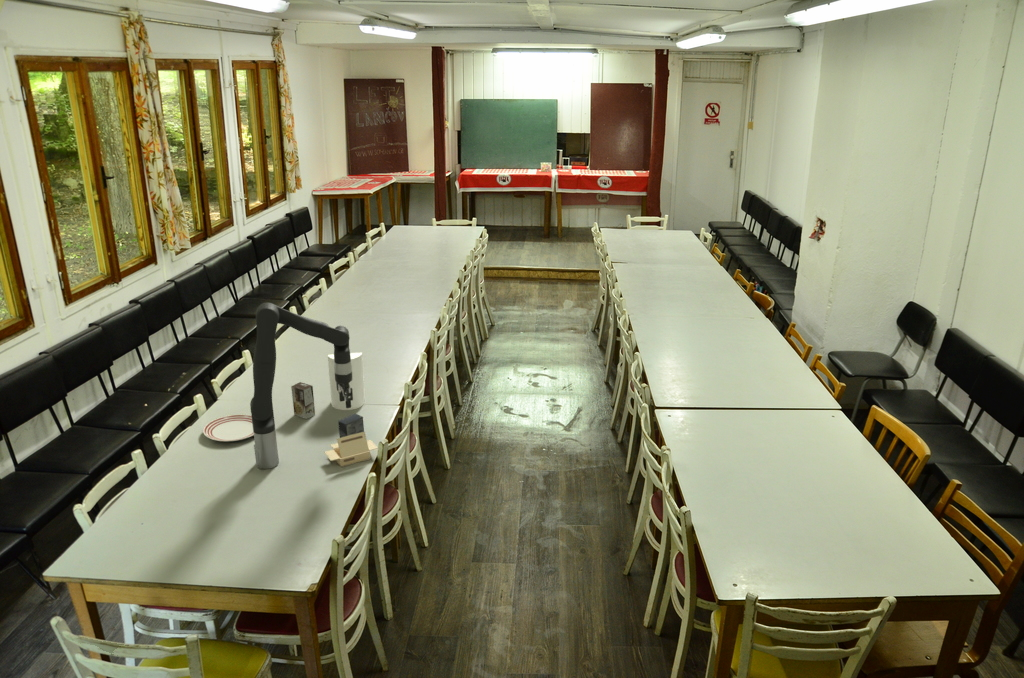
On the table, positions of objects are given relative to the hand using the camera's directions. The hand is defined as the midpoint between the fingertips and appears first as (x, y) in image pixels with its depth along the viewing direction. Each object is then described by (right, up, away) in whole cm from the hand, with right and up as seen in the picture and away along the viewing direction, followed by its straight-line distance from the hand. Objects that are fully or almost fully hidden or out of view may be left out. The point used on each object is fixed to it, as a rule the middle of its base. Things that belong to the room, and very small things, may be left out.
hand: (345, 404), depth 340 cm
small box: (-2, -18, +24) cm, 30 cm away
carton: (0, -24, +8) cm, 26 cm away
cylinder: (-11, -4, +59) cm, 60 cm away
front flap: (+4, -23, +1) cm, 23 cm away
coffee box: (-31, -9, +46) cm, 56 cm away
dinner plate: (-60, -16, +28) cm, 68 cm away
